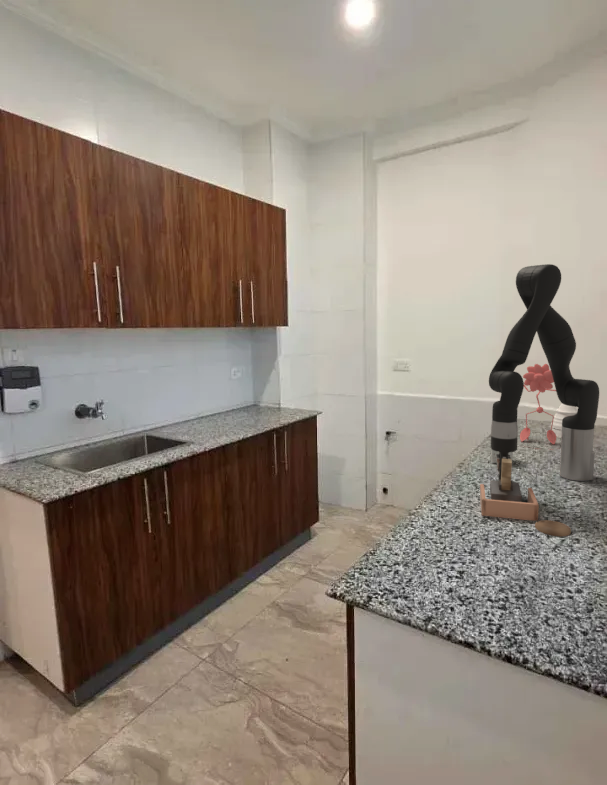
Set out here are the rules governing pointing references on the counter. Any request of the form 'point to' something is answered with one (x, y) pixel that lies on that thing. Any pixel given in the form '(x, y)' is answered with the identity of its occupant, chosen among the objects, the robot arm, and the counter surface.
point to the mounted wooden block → (505, 485)
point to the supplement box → (493, 453)
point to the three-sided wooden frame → (510, 507)
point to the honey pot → (560, 414)
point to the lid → (552, 528)
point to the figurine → (539, 381)
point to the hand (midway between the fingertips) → (502, 488)
